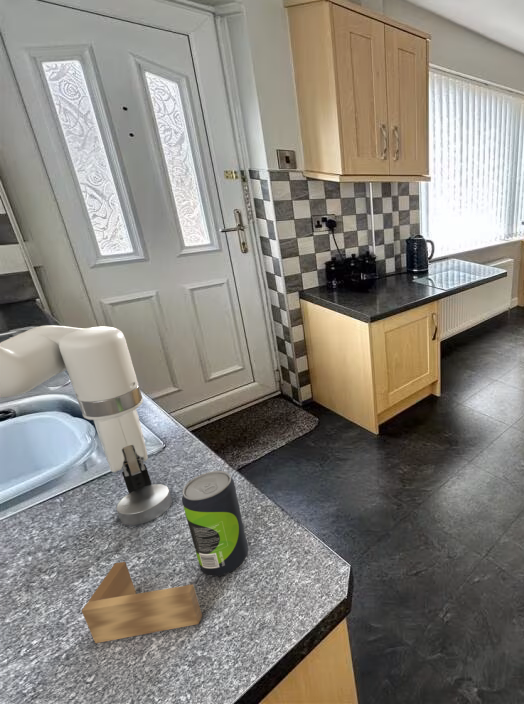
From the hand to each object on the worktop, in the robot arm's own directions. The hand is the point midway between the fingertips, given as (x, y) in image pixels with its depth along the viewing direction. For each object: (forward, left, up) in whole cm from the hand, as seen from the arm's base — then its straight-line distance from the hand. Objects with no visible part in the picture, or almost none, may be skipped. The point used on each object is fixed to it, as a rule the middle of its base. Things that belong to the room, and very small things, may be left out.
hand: (139, 487), depth 76 cm
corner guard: (+14, -25, -2) cm, 28 cm away
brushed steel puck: (+3, -4, -2) cm, 5 cm away
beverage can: (+19, -18, -2) cm, 27 cm away
